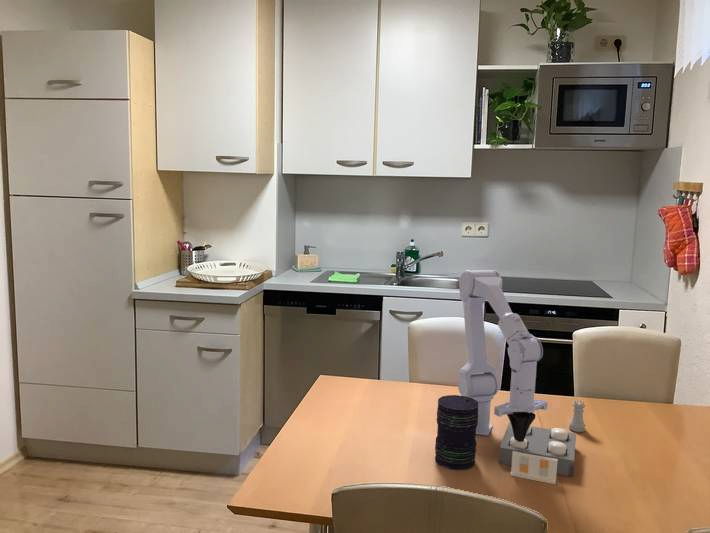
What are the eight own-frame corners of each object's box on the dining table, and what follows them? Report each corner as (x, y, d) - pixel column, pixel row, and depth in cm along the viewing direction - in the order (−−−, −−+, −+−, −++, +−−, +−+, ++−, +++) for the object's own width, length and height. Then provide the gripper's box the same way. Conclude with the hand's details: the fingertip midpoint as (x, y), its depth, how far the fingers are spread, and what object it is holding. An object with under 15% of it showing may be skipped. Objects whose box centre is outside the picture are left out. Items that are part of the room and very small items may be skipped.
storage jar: (450, 473, 142) (453, 412, 140) (426, 456, 151) (429, 398, 149) (484, 465, 147) (487, 406, 145) (459, 449, 156) (462, 392, 154)
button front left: (508, 454, 150) (509, 441, 149) (510, 447, 153) (511, 435, 153) (525, 457, 148) (526, 444, 148) (527, 450, 152) (528, 438, 151)
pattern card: (510, 475, 142) (511, 454, 142) (512, 470, 145) (513, 449, 144) (555, 484, 139) (557, 462, 138) (556, 478, 142) (557, 457, 141)
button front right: (547, 459, 146) (548, 446, 146) (548, 452, 150) (549, 440, 150) (564, 462, 145) (565, 449, 144) (565, 455, 149) (566, 443, 148)
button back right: (549, 444, 155) (550, 432, 154) (551, 438, 158) (551, 426, 158) (566, 447, 153) (567, 435, 153) (567, 441, 157) (568, 429, 156)
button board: (498, 462, 149) (499, 447, 148) (508, 436, 164) (509, 422, 164) (572, 476, 143) (574, 460, 142) (575, 448, 158) (576, 433, 158)
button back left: (513, 438, 158) (514, 426, 157) (515, 432, 162) (516, 420, 161) (529, 441, 156) (530, 429, 156) (531, 435, 160) (531, 423, 160)
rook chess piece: (586, 433, 168) (588, 405, 167) (569, 431, 169) (571, 404, 168) (583, 427, 172) (586, 400, 171) (567, 425, 173) (569, 398, 172)
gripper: (508, 395, 142) (504, 451, 144) (557, 388, 148) (553, 442, 149) (490, 386, 148) (487, 439, 150) (538, 379, 154) (534, 431, 156)
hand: (518, 440), depth 150 cm, fingers closed, pressing on button front left
